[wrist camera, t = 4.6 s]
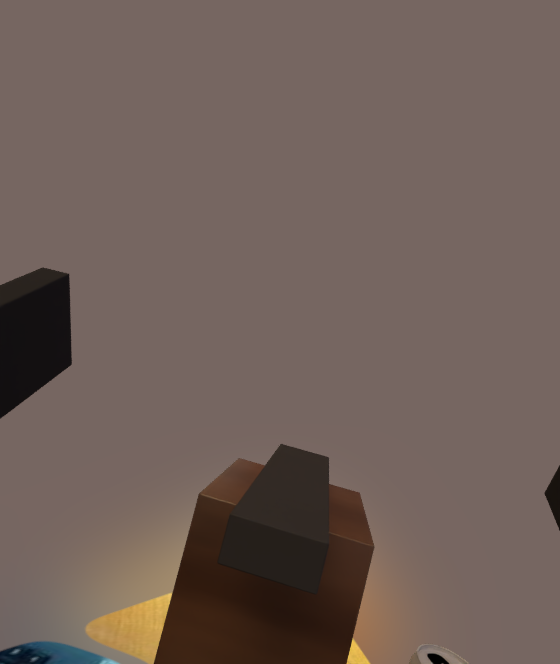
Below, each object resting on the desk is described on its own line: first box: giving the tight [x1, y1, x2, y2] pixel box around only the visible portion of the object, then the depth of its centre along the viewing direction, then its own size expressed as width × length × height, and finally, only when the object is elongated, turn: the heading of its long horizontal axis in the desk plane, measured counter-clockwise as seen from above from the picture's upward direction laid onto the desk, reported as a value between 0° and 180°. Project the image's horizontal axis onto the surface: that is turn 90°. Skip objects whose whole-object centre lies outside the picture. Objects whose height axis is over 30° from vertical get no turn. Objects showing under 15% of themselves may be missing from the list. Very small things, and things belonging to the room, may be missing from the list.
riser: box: [154, 458, 374, 664], centre depth 31 cm, size 12×10×22 cm
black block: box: [217, 444, 329, 595], centre depth 28 cm, size 20×4×2 cm, turn 174°
